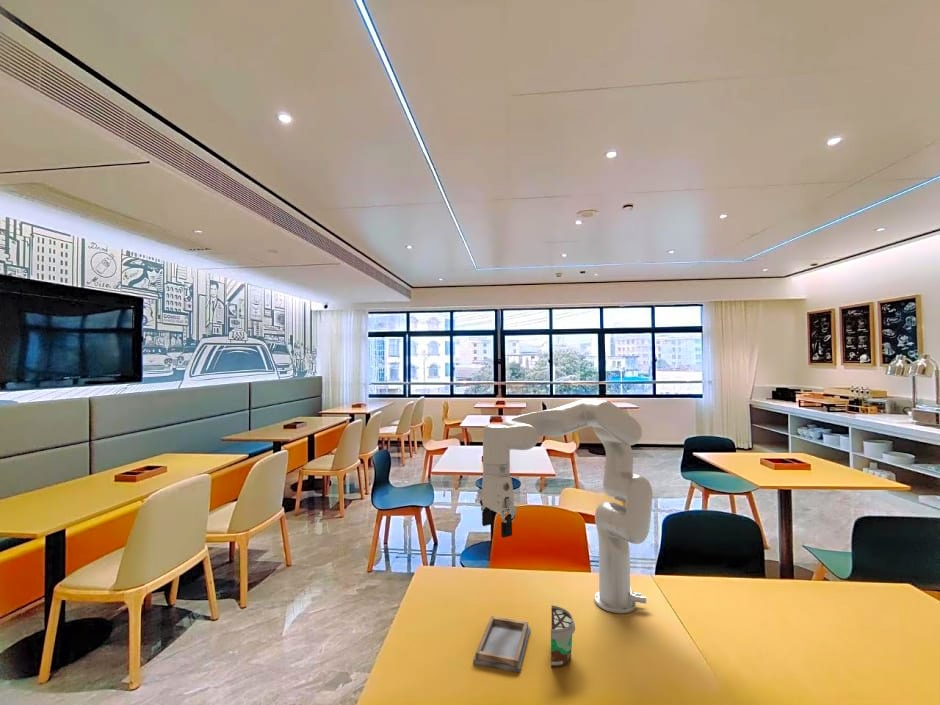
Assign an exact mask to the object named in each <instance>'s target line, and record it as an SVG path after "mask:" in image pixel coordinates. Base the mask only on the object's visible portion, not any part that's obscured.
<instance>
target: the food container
mask: <svg viewBox="0 0 940 705" xmlns="http://www.w3.org/2000/svg"><path fill="white" fill-rule="evenodd" d="M575 631H576V624H575V621H574V618H573V616H572V614H571V613H570V612H569V611H568V610H566V609H565V608H563V607H561V606H557V605H551V628H550V659H551V660H550V666H551V668H552V669H558V668H559V669H560V668H564V667H566V666H568V665H569V664H570V662H571V661H572V648H573V647H572V643H573V634H574V633H575Z"/></svg>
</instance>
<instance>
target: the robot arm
mask: <svg viewBox="0 0 940 705" xmlns="http://www.w3.org/2000/svg"><path fill="white" fill-rule="evenodd" d="M589 427H592V430H593V433H594V434H595V436H596V437H597V438H598V439H599V440H600V442H601V443H602V445H603V448H604V451H605V464H604V472H603V474H604V475H603V484H602V486H603V487H602V488H603V492H604V493H605V495H607V496H608V497H609V498H612V499H613V500H617V501H619V502H622V503H625V505H622V504H619V503H617V502H613V501H604V502H601V503H599V505H598V506H597V507H596V510H595V512H594V522H595V525H596V530H597V539H598V541H597V542H598V582H599V583H598V588H599V590H598V591H597V592H596V593H595V594H594V597H593V599H594V600H593V601H594V602H595V604H596V605H597V606H598V607H599V608H601V609H602V610H603V611H606V612H609V613H615V614H627V613H632V612H634V610H635V609H636V607H637V605H636V603H640V604H645V605H646V604H647V597H646V596H642V593H641V592H634V591H632V587H631V562H630V561H631V557H630V556H631V552H630V551H631V550H630V544H629V543H631V544H635V545H639V544H643V543H644V542H645V540H646V539H647V538H648V536H649V533H650V527H651V520H652V519H651V518H652V506H653V495H654V494H653V488H652V484H651V482H650V481H649V480H648V479H647V478H646V477H645V476H643V475H640V474H637V473H634V471H633V468H634V465H633V464H634V454H633V449H632V447H631V446H634V445H636V444H637V443H639V442H640V440H641V438H642V435H643V434H642V433H643V431H642V427H641V424H640V423H639V421H638V420H637V419H636V418H635V417H633V416H632V415H630V414H629V413H627V412H626V411H625V410H623V409H621V408H620V407H618V406H617V405H615V404H613V402H610V401H608V400H604V399H593V398H583V399H579V400H577V401H574V402H570V403H567V404H564V405H561V406H558V407H555V408H550V409H549V408H548V409H544V410H541V411H535V412H529V413H525V414H524V413H523V414H520V415H518V416H514V417H511V418H508V419H506V420H503V421H502V422H501V423H494V424H493V423H491V424H490V423H489V424H486V425H484V427H483V428H482V429H483V430H482V474H483V475H482V479H481V480H482V484H481V491H480V492H478V497H479V505H480V506H481V507H480V511H481V525H482V526H483V527H487V526H491V525H493V512H495V513H497V514H499V515H500V517H501V520H502V521H501V523H500V524H501V526H500V529H501V532H500V533H501V535H500V536H501V538H508V537H511V536H513V522H514V519H515V518H516V513H517V511H518V510H517V507H516V506H515V500H514V497H515V496H514V487H513V480H512V476H511V475H510V474H511V471H510V470H511V467H510V466H511V463H510V460H511V459H510V458H511V457H510V451H511V450H514V451H528V450H531V449H533V448H534V447H535V446H536V445H537V444H538V441H539V437H562V436H566V435H568V434H570V433H574V432H576V431H579V430H582V429H585V428H589ZM506 514H507V515H506Z"/></svg>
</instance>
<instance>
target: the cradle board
mask: <svg viewBox="0 0 940 705" xmlns="http://www.w3.org/2000/svg"><path fill="white" fill-rule="evenodd" d="M530 633H531V626H529V622H528V621H525V620H524V621H522V620H517V619H511V618H510V619H509V618H506V617H505V618H504V617H499V616H492V615H491V616H490V618H489V620H488V623H487V625H486V627H485V630H484V632H483V635H482V637H481V640H480V642H479V644H478V647H477V649H476V651H475V653H474V654H475V655H474V656H473V659H472V664H474V665H476V666H477V665H478V666H484V667H489V668H492V669H493V668H494V669H498V670H499V669H500V670H503V671H508V672H512V673H516V674H517V673H518V674H520V673H521V669H522V666H523V665H522V664H523V661H524V657H525V654H526V649H527V646H528V641H529V637H530Z"/></svg>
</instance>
